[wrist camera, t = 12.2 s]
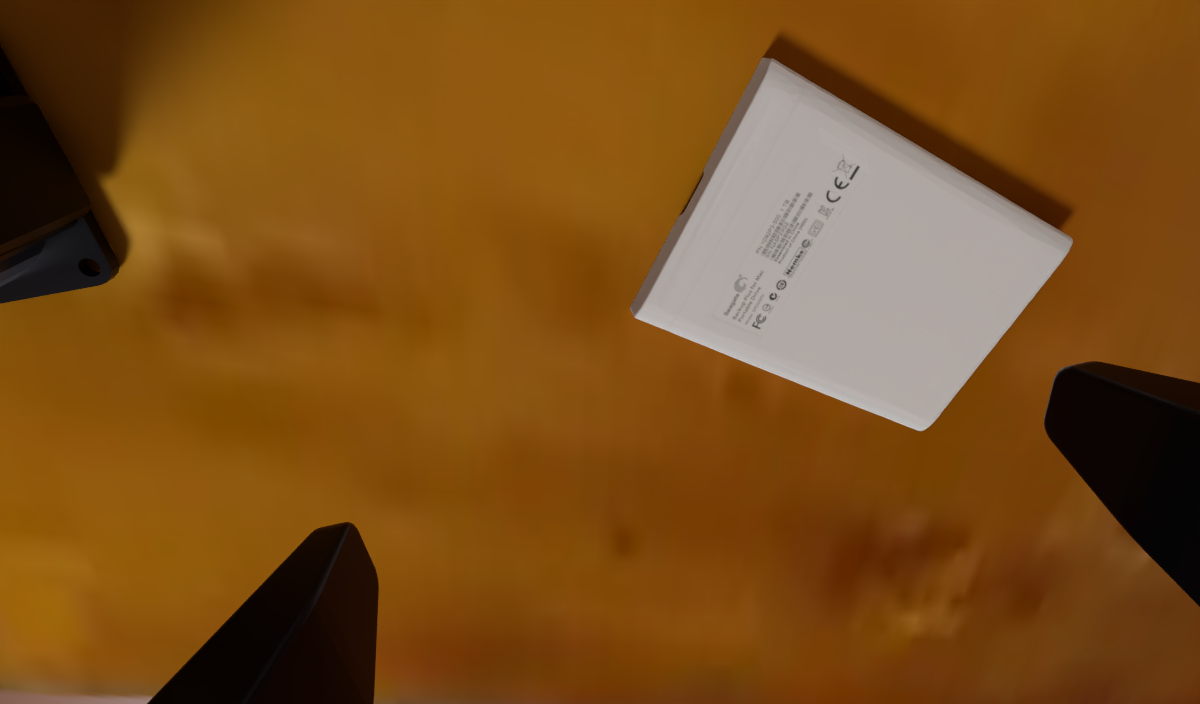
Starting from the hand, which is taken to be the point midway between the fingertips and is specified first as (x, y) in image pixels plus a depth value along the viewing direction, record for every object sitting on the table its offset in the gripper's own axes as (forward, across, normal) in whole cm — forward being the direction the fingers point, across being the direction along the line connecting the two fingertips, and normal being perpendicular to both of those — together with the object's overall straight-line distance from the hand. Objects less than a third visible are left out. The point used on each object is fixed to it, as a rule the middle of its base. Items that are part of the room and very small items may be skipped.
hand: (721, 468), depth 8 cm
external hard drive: (+13, -8, +3) cm, 16 cm away
